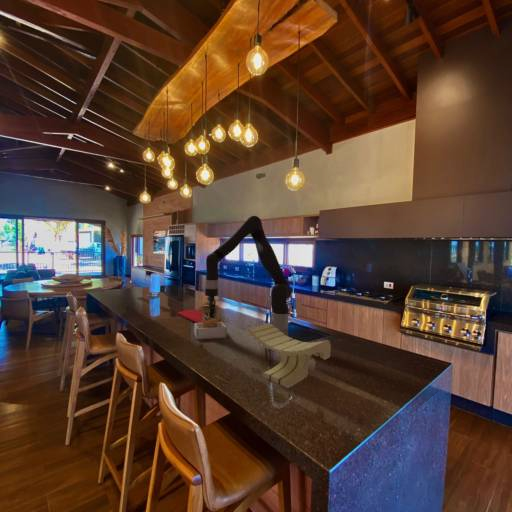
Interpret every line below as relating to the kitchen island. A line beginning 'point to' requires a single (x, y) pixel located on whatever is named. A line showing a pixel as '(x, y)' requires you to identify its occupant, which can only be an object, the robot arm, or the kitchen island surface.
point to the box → (210, 331)
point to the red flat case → (193, 315)
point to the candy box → (208, 321)
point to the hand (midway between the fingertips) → (210, 316)
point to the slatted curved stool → (289, 354)
